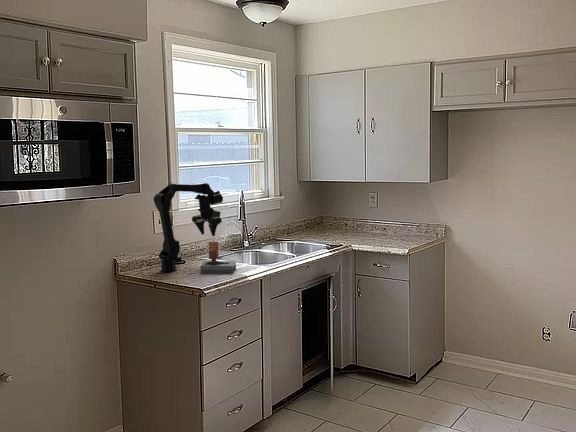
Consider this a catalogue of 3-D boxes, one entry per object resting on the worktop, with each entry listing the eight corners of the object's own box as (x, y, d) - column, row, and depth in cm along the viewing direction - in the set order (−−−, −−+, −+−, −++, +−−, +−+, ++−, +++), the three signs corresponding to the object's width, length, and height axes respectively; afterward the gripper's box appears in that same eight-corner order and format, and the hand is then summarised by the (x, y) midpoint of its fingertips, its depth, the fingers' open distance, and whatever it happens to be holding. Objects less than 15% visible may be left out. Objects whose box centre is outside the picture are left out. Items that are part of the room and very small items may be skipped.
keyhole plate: (200, 273, 299) (200, 265, 299) (204, 268, 312) (204, 261, 312) (232, 273, 299) (232, 265, 299) (235, 268, 312) (235, 260, 311)
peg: (213, 268, 313) (212, 243, 311) (206, 266, 316) (205, 242, 315) (221, 266, 317) (220, 241, 315) (214, 265, 320) (213, 241, 319)
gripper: (228, 204, 318) (231, 233, 321) (206, 202, 331) (209, 230, 334) (211, 208, 311) (214, 238, 314) (189, 206, 324) (193, 234, 327)
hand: (208, 235), depth 322 cm, fingers open, 9 cm apart
